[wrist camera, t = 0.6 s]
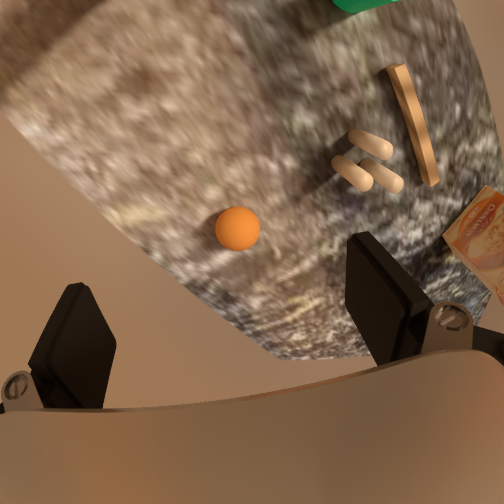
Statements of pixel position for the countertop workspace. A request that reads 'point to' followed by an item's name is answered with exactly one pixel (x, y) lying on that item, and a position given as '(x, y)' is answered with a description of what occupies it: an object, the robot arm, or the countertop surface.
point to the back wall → (414, 122)
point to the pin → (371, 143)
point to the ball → (237, 228)
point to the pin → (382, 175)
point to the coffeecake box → (481, 239)
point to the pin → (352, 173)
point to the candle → (360, 4)
